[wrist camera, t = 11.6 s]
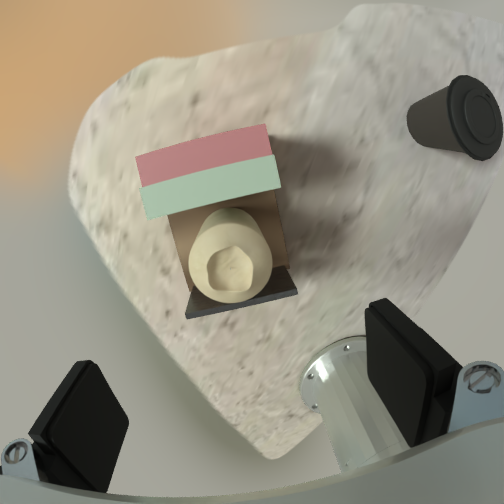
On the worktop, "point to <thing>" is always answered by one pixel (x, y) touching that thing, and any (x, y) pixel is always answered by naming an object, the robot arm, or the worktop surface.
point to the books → (207, 171)
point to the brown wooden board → (255, 205)
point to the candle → (230, 257)
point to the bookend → (273, 290)
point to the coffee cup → (458, 119)
